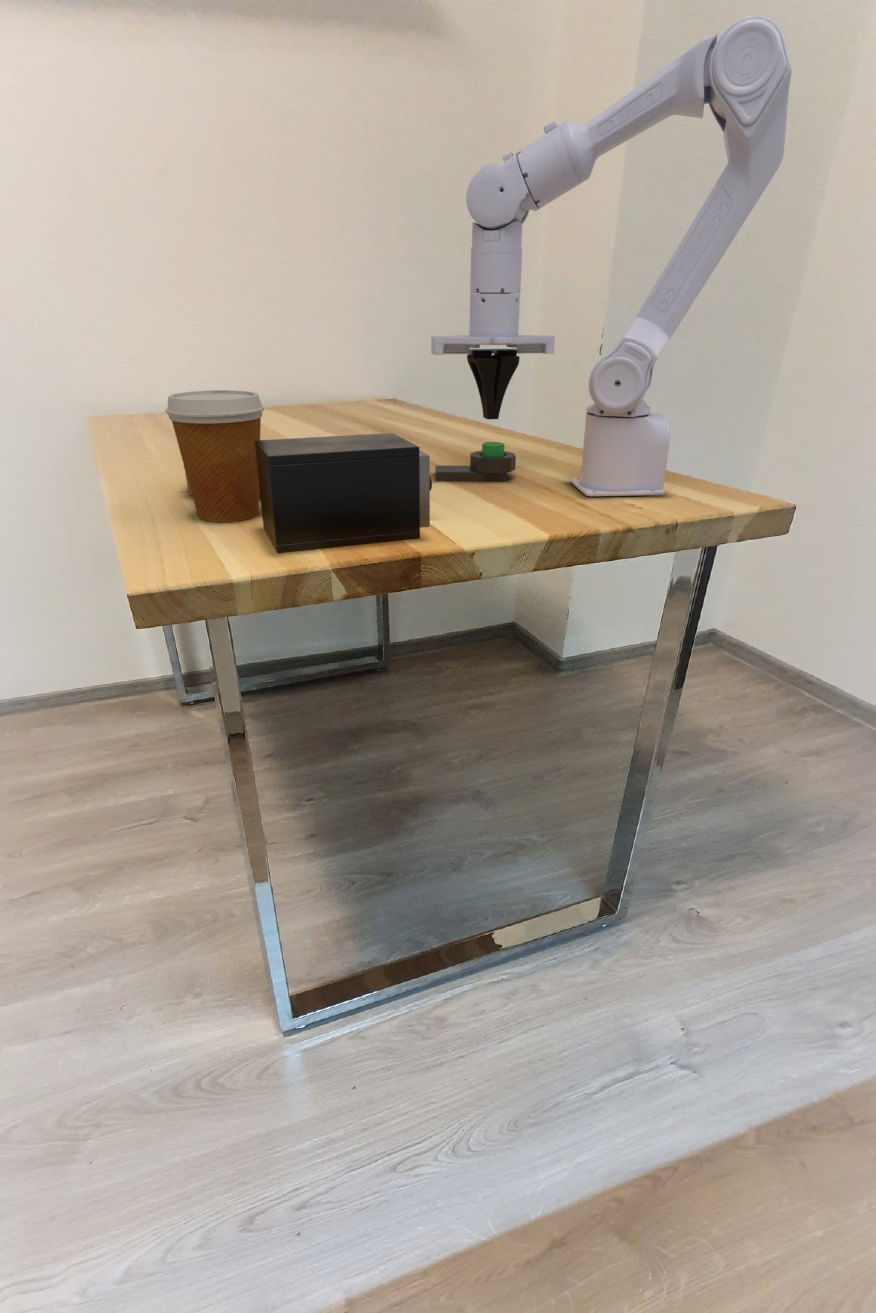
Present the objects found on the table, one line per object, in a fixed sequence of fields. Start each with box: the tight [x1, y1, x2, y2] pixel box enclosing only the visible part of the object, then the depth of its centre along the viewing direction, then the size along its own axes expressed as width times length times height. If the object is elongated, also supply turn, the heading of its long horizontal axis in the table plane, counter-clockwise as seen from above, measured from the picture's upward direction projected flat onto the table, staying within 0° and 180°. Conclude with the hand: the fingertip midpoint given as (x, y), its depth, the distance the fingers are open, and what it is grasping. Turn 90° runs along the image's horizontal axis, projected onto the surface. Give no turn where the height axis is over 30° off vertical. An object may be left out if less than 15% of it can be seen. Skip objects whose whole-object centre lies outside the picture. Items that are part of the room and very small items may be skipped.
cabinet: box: [255, 432, 421, 554], centre depth 69 cm, size 14×8×9 cm, turn 110°
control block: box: [434, 450, 517, 482], centre depth 93 cm, size 10×6×3 cm, turn 90°
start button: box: [481, 441, 505, 457], centre depth 92 cm, size 3×3×2 cm
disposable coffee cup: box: [164, 389, 265, 523], centre depth 74 cm, size 10×10×12 cm
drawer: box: [419, 449, 433, 529], centre depth 70 cm, size 14×7×7 cm, turn 110°
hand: (490, 418), depth 89 cm, fingers closed
